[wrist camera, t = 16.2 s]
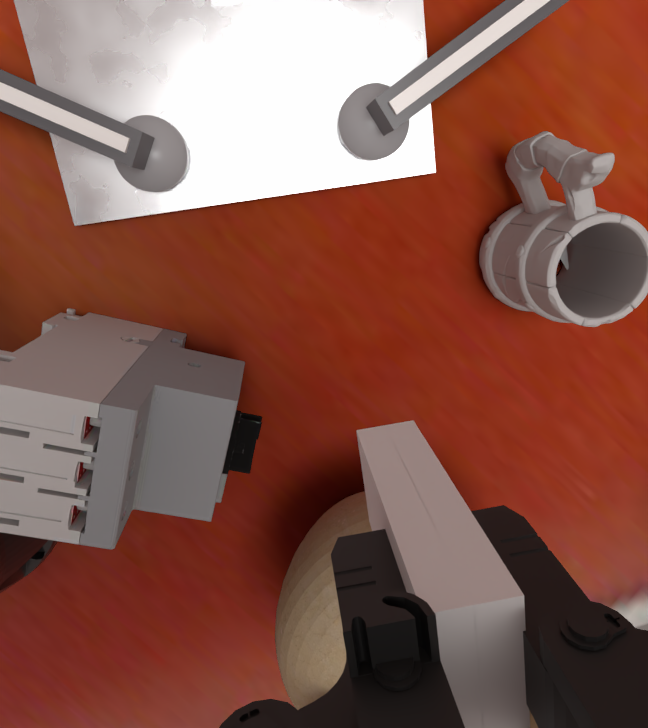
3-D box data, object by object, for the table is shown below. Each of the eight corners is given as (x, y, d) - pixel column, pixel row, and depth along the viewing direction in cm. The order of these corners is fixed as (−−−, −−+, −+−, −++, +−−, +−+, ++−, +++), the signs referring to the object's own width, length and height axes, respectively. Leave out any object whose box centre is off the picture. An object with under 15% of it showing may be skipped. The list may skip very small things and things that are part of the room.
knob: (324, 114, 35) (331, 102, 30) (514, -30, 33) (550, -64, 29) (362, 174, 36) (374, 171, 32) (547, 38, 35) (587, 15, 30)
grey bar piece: (175, 203, 36) (161, 203, 31) (-55, 106, 33) (-105, 92, 29) (198, 135, 35) (187, 126, 30) (-37, 30, 32) (-87, 4, 28)
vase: (298, 634, 48) (333, 1281, 19) (254, 466, 43) (213, 1002, 14) (484, 592, 48) (788, 1164, 20) (461, 421, 43) (825, 854, 15)
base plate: (79, 225, 37) (63, 227, 34) (10, -36, 32) (-15, -58, 30) (431, 173, 38) (444, 171, 35) (411, -88, 33) (424, -113, 30)
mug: (489, 321, 41) (571, 369, 30) (446, 163, 38) (520, 148, 26) (586, 285, 41) (706, 319, 30) (551, 123, 37) (673, 90, 26)
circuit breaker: (249, 443, 42) (236, 569, 28) (56, 406, 40) (-64, 522, 26) (270, 352, 40) (268, 436, 26) (69, 307, 38) (-54, 373, 24)
